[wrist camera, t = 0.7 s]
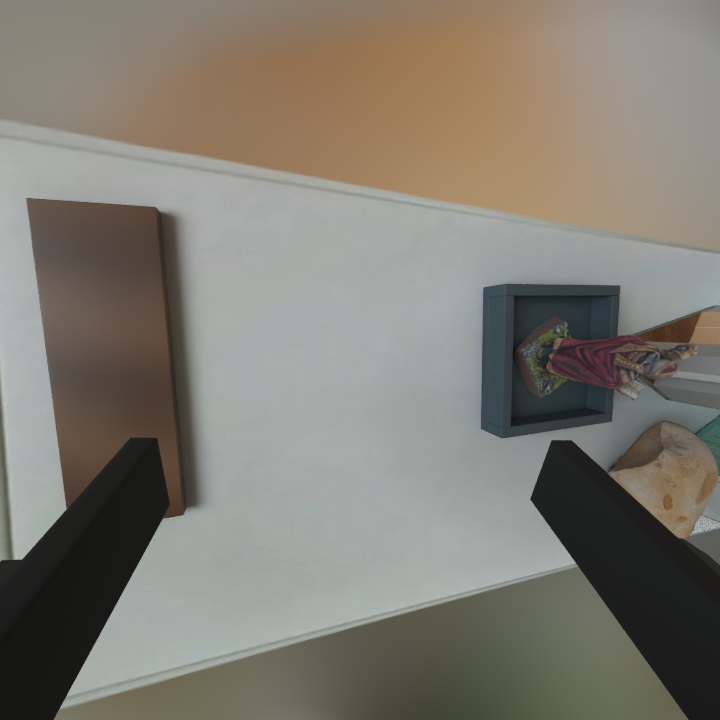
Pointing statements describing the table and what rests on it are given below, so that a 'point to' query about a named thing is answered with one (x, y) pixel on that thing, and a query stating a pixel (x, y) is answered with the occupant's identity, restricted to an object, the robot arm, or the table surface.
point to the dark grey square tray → (510, 328)
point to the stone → (669, 475)
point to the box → (716, 437)
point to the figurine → (593, 360)
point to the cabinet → (690, 358)
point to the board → (106, 336)
